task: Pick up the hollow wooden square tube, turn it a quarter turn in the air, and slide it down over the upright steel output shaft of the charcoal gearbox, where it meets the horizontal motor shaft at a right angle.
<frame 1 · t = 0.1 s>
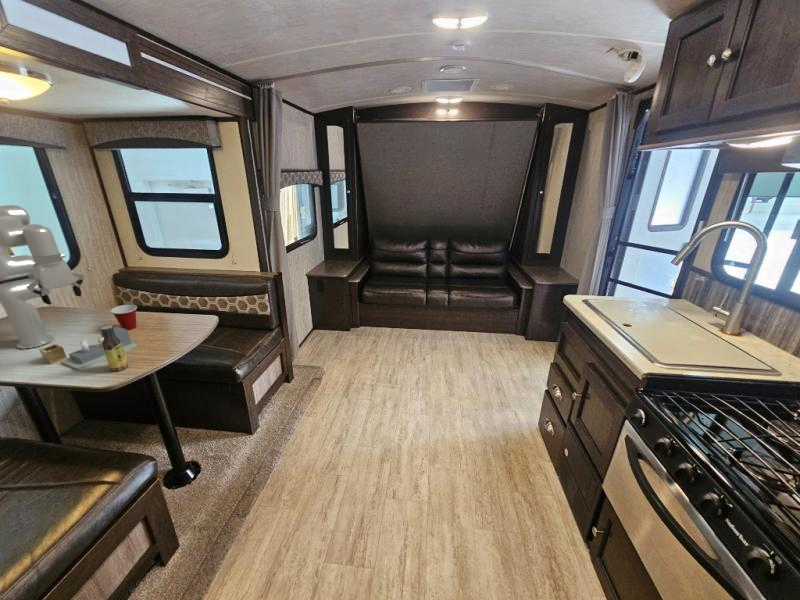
hand: (63, 299, 133), 31 cm above the table, fingers open, 9 cm apart
sauce bottle: (120, 368, 143), on the table
coupling rig: (101, 354, 152), on the table
plastic cup: (130, 328, 177), on the table
hollow wooden square tube: (55, 359, 147), on the table
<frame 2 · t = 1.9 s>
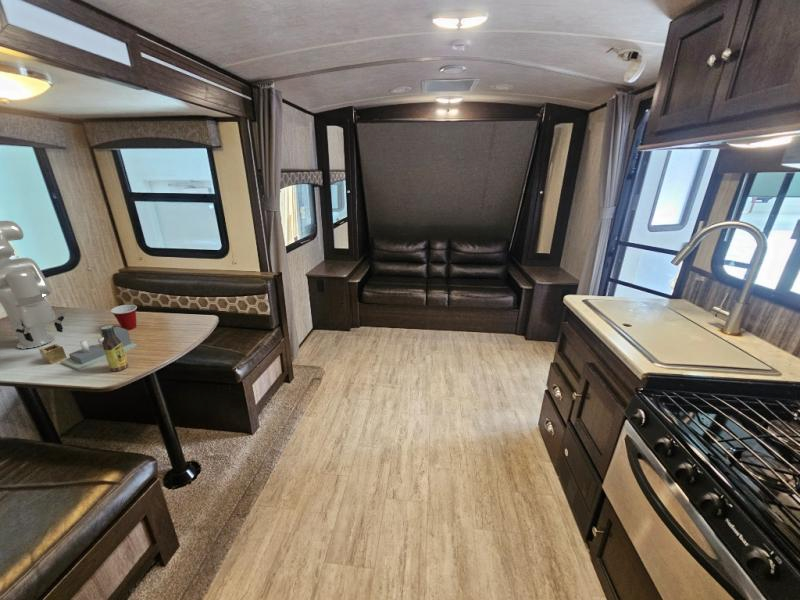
hand: (46, 336, 143), 12 cm above the table, fingers open, 9 cm apart
nothing on the table moved.
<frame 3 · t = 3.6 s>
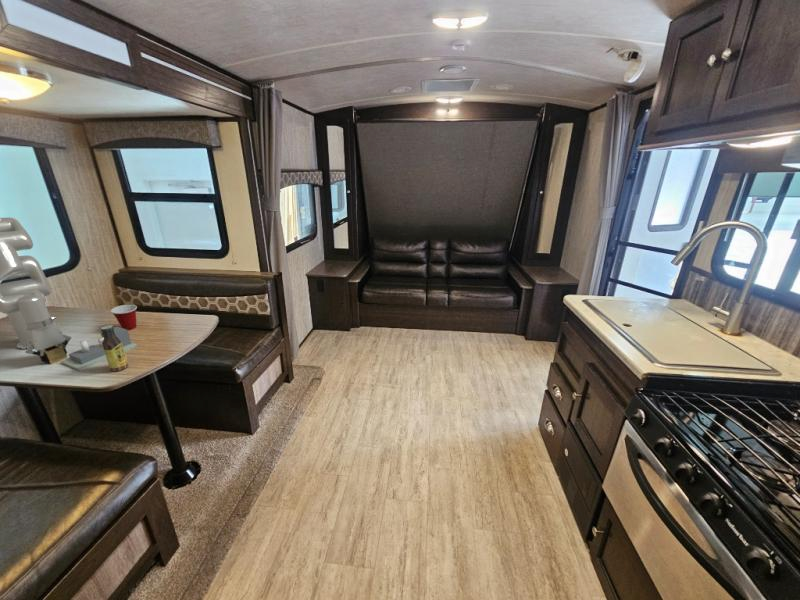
hand: (55, 358, 147), 1 cm above the table, fingers closed on hollow wooden square tube, 5 cm apart
hollow wooden square tube: (55, 359, 147), on the table, touching gripper
everything else where it was.
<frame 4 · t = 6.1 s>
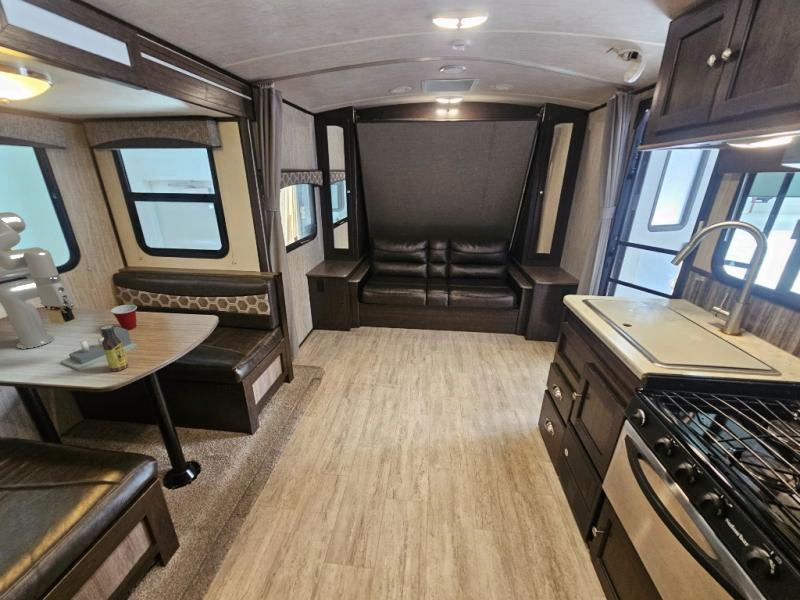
hand: (64, 319, 140), 20 cm above the table, fingers closed on hollow wooden square tube, 5 cm apart
hollow wooden square tube: (64, 320, 141), point 20 cm above the table, touching gripper
everything else where it was.
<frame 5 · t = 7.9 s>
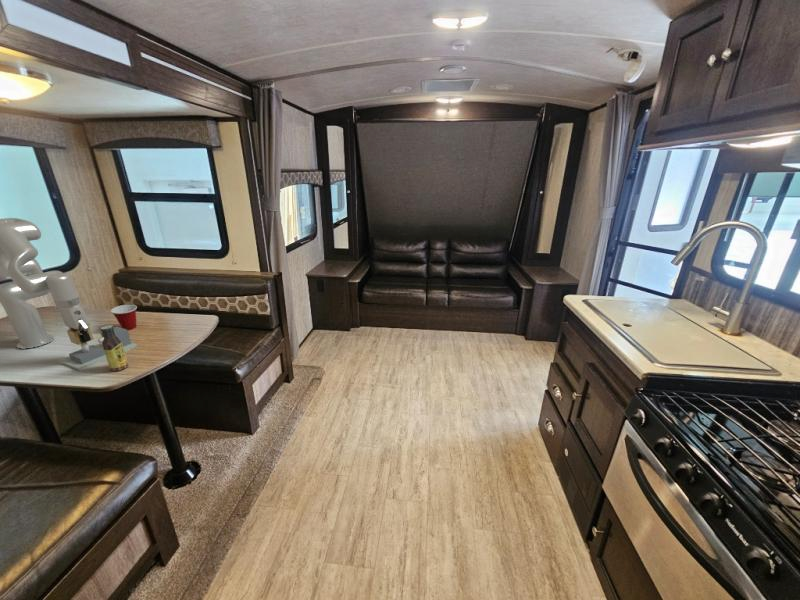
hand: (82, 339, 145), 10 cm above the table, fingers closed on hollow wooden square tube, 5 cm apart
hollow wooden square tube: (82, 340, 145), point 10 cm above the table, touching gripper
everything else where it was.
when the fingers open (6 cm above the table, at t = 9.1 s): hollow wooden square tube drops 1 cm, resting on coupling rig.
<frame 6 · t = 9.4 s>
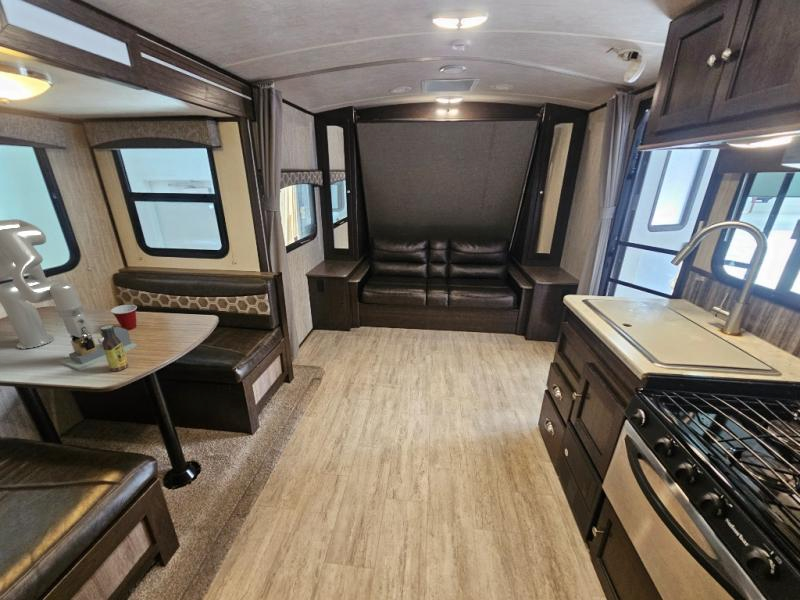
hand: (84, 346, 146), 7 cm above the table, fingers open, 8 cm apart
hollow wooden square tube: (86, 351, 147), point 4 cm above the table, touching coupling rig
everything else where it was.
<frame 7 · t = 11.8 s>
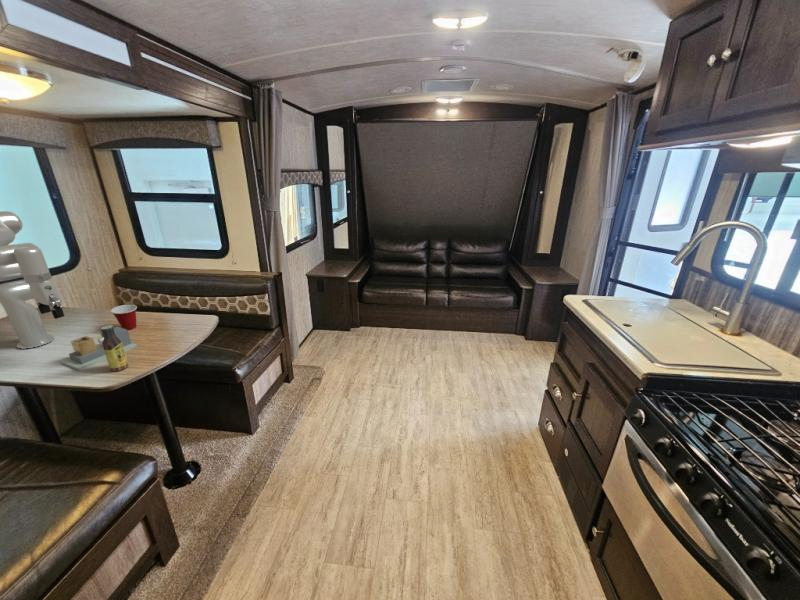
hand: (52, 315, 139), 23 cm above the table, fingers open, 9 cm apart
nothing on the table moved.
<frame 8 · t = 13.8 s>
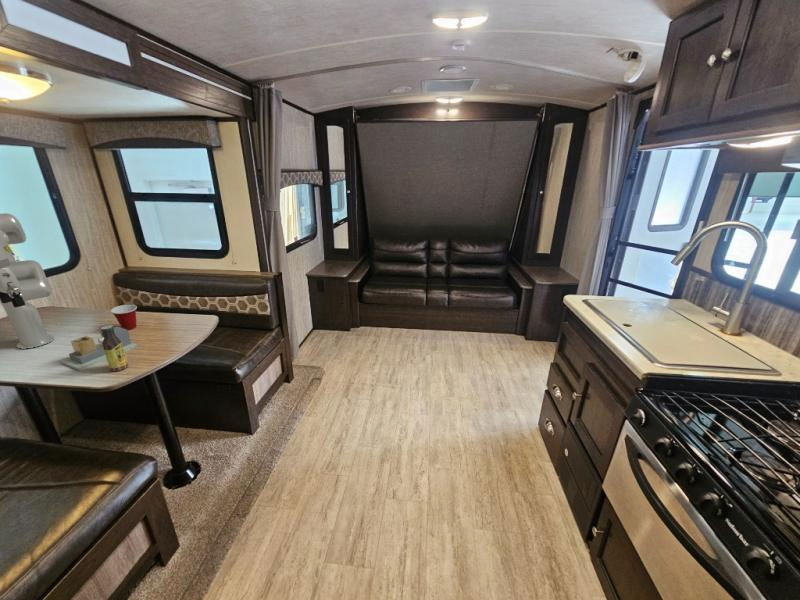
hand: (13, 304, 135), 28 cm above the table, fingers open, 9 cm apart
nothing on the table moved.
at the end: hollow wooden square tube 0.1 cm from the target spot on the coupling rig, point 4.0 cm above the coupling rig's base; hollow wooden square tube tilted 0°; the gripper is holding nothing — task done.
